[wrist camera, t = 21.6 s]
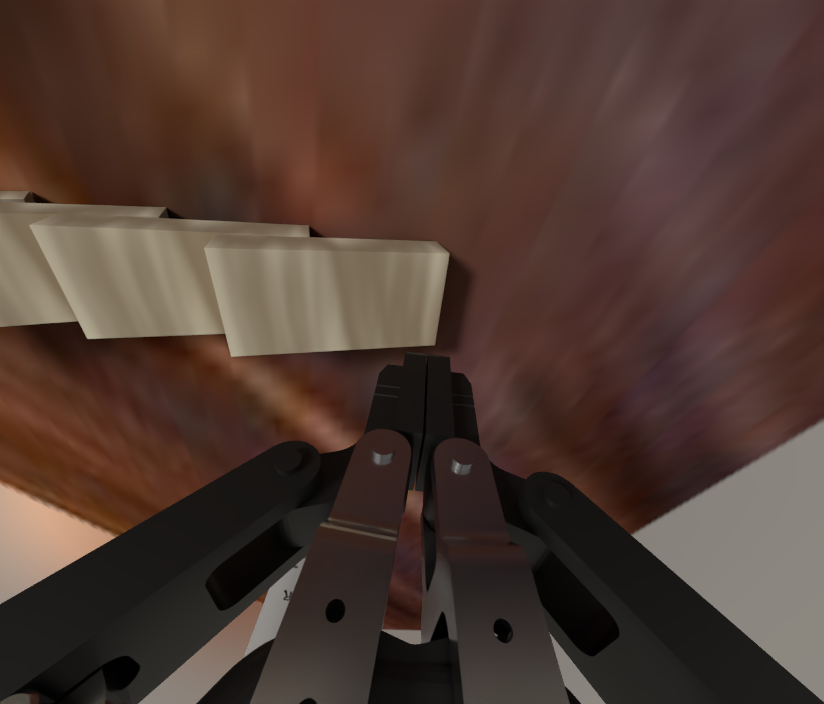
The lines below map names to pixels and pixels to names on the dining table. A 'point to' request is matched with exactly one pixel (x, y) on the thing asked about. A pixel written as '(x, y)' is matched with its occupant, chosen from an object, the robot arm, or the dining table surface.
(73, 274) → the domino
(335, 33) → the dining table surface
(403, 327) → the domino
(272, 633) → the energy drink can
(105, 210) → the domino
